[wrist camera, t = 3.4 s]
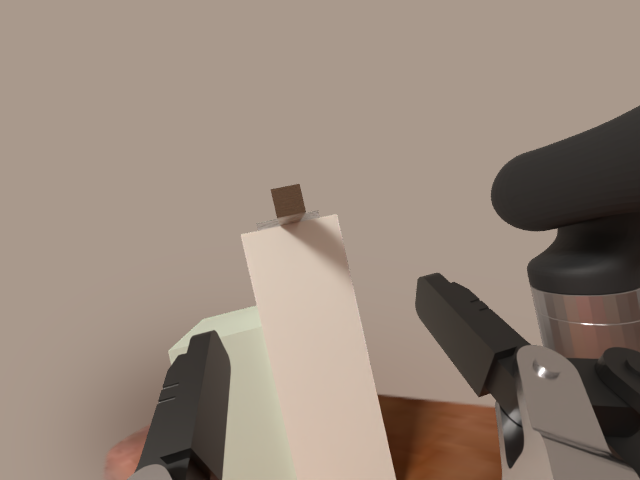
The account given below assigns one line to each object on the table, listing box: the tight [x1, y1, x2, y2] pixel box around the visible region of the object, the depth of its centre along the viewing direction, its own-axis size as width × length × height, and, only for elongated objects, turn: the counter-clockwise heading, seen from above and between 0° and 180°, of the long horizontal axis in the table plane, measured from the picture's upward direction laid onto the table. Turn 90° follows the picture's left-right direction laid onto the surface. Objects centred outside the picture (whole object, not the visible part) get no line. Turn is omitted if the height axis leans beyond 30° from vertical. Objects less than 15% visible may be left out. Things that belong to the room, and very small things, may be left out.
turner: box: [257, 184, 320, 231], centre depth 27 cm, size 7×20×2 cm, turn 9°
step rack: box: [168, 214, 396, 480], centre depth 32 cm, size 20×13×31 cm, turn 99°
